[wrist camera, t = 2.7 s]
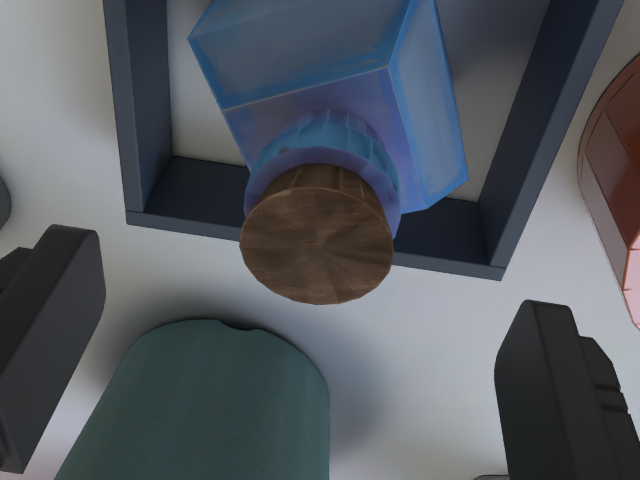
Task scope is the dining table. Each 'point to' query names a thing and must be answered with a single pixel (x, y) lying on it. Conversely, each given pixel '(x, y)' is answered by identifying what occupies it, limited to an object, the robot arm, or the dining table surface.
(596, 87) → the dining table surface
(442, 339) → the dining table surface
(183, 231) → the tray
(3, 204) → the bottle
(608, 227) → the round terracotta bowl
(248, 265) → the perfume bottle
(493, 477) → the coffee maker
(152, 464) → the flower pot
